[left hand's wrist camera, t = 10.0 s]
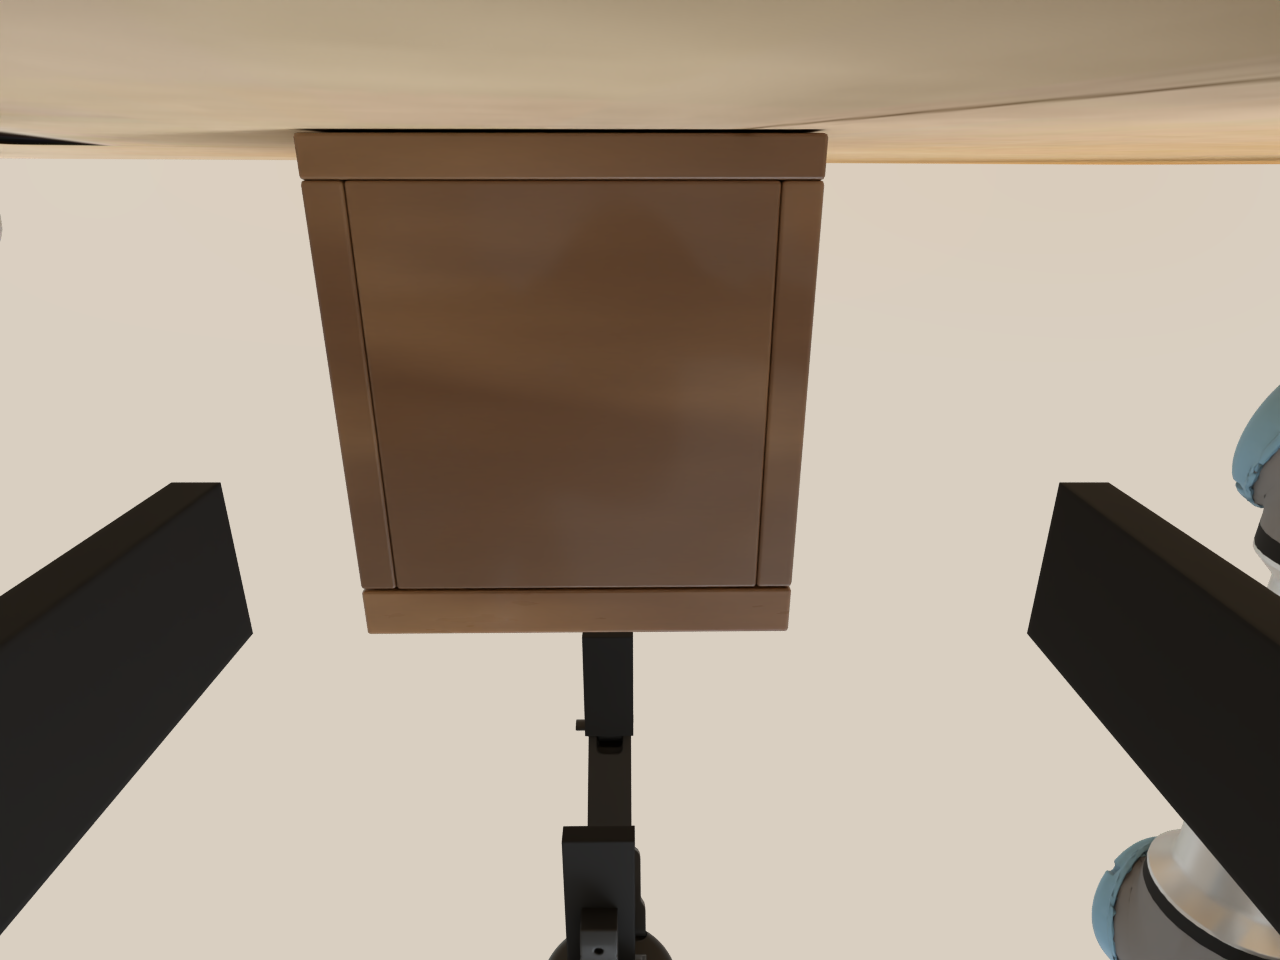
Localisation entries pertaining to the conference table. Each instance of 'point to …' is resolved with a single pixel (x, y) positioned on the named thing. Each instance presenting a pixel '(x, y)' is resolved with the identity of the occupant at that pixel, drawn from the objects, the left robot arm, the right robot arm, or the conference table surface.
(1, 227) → the projector
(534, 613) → the lid
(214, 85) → the conference table surface
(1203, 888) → the right robot arm
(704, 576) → the chest
